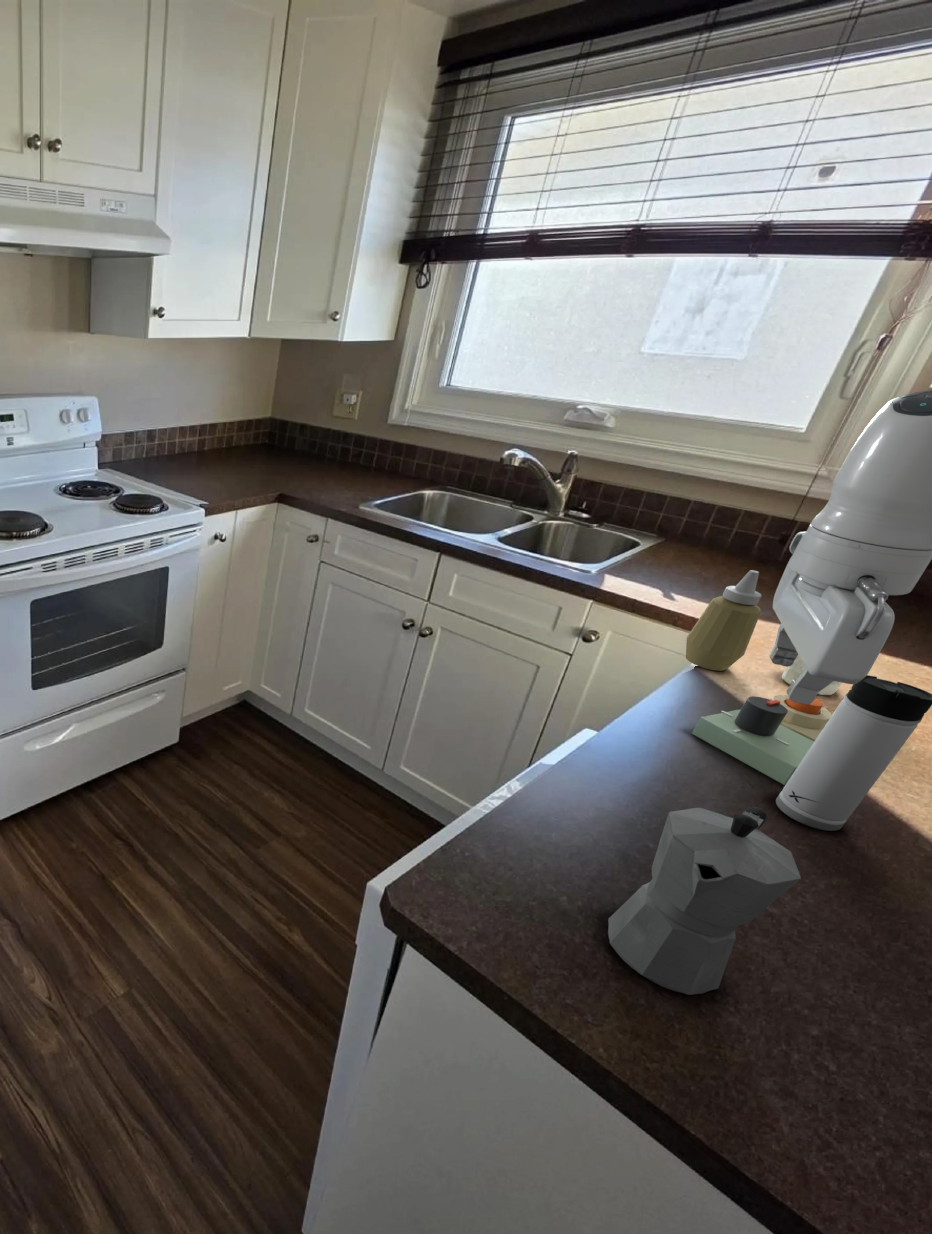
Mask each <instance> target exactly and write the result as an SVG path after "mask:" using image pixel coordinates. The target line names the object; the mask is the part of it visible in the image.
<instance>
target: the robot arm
mask: <svg viewBox="0 0 932 1234" xmlns="http://www.w3.org/2000/svg"><path fill="white" fill-rule="evenodd" d="M789 552H790V553H791V557H790V558H789V561H788V562H787V564H786V566H785V569H784V571H783V573H782V576H781V577H780V580H779V583H778V585H777V587H776V589H775V593H774V596H773V601H772V610H773V612H774V613H775V615H776V617H777V618H778V620H779V622H780V625H779V626H778V628H777V633H776V637H775V641H774V645H773V647H772V649H771V651H770V653H769V659H770V660H771V663H772V664H774V665H777V666H782V667H785V668H786V667H788V666H791V665H792V664H793V663H794V660H795V659H796V658H797V656H798V654H799V656H800V658H801V660H802V661H803V663H804V667H803V668H802V671H803V673H802V674H801V675H800V676H799V678H798V679H797V680H793V681H792V682H791V684H789V687H787V689H786V695H787V696H788V697H789V699H790V700H791V701H793V702H797V703H802V704H811V703H812V702H813V701H814V699H815V698H816V697H817V696H818V695H819V694H818V693H819V691H821V690H822V689H824V688H825V687H827V686H828V685H829V684H831V683H832V682H833V681H837V682H842V684H848V685H853V684H856V683H858V682H860V681H861V680H863V679H864V678H865V677H866V676H867V675H869V673H870V671H871V669H872V668H873V666H874V664H875V662H876V661H877V659H878V657H879V655H880V653H881V651H882V649H883V647H884V646H885V644H886V642H887V640H888V639H889V636H890V634H891V632H892V629H893V627H894V624H895V619H896V618H895V617H896V616H895V612H894V610H893V609H892V607H891V606H890V605H889V604H888V603H887V602H886V601H887V600H888V598H889V596H903V595H907V594H910V593H911V592H912V591H913V590H914V588H915V587H916V585H917V583H918V582H919V580H920V578H921V577H922V575H923V574H924V572H925V570H926V569H927V567H928V566H929V564H930V563H931V561H932V390H930V389H929V390H923V391H922V390H921V391H915V392H910V393H906V394H904V395H900V396H897V397H895V398H893V399H890V400H889V401H888V402H887V403H886V404H885V405H883V407H881V409H879V410H878V412H876V414H875V415H874V416H873V418H872V419H870V421H869V422H868V424H867V425H866V426H865V428H864V429H863V431H862V432H861V434H860V435H859V436H858V437H857V440H856V441H855V442H854V444H853V446H852V447H851V449H850V450H849V451H848V453H847V454H846V457H845V459H844V460H843V462H842V464H841V466H840V468H839V469H838V471H837V473H836V475H835V477H834V478H833V481H832V485H831V492H830V497H829V498H828V501H827V502H826V505H825V506H824V507H823V508H822V510H820V511H819V512H818V514H816V515H815V517H814V518H813V519H812V521H811V522H810V524H809V526H808V527H807V529H806V531H799V532H797V533H796V534H795V535H794V537H793V538H792V540H791V543H790V545H789Z"/></svg>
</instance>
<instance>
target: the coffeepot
mask: <svg viewBox="0 0 932 1234" xmlns="http://www.w3.org/2000/svg"><path fill="white" fill-rule="evenodd" d="M667 813H668V815H667V817H666V820H665V823H664V827H663V830H662V833H661V836H660V839H659V842H658V845H657V849H656V852H655V854H654V859H653V862H652V866H651V878H652V879H651V880H650V882H647V883H645V884H642V885H641V886H640V887H639V888H638V889H637V890H636V891H635V892H634V893H633V894H632V895H631V896H630V897H629V898H628V899H627V900H626V901H625V902H623V904H622V905H621V906H620V907H619V908H618V909H617V910H616V911H614V912H613V914H612V915H611V916H609V917H608V929H607V936H608V940H609V944H610V946H611V948H613V950H614V951H615V952H616V954H617V955H618V956H619V957H620V958H621V959H622V960H623V961H624V962H625V963H626V964H627V965H628V966H629V967H630V968H631V969H633V970H634V971H635V972H637V973H638V974H639V975H641V976H642V977H644V978H646V979H647V980H649V981H650V982H652V983H654V984H656V985H658V986H661V987H662V988H665V989H667V990H670V991H673V992H676V993H679V994H680V993H681V994H685V995H687V996H690V995H691V996H693V995H702V994H705V993H707V992H710V991H714V990H718V989H719V988H720V985H721V982H722V979H723V977H724V973H725V971H726V968H727V966H728V962H729V959H730V957H731V954H732V951H733V948H734V944H735V942H736V939H737V938H736V930H737V929H738V927H739V926H743V925H746V924H749V923H751V922H752V921H754V920H755V919H756V918H757V917H758V916H759V915H761V914H762V913H763V912H764V911H765V910H766V909H768V908H769V907H770V906H771V905H772V904H773V903H774V902H776V901H777V900H778V899H779V898H781V896H783V895H784V894H785V893H786V892H787V891H789V890H790V889H791V888H792V887H793V886H794V885H796V884H797V883H798V882H799V881H800V880H802V877H801V874H800V871H799V869H798V867H797V864H796V862H795V859H794V855H793V853H792V852H791V850H789V849H787V848H786V847H784V846H783V845H781V844H780V843H778V842H777V841H775V840H774V839H773V838H771V837H769V836H768V835H766V834H765V833H764V832H762V831H761V830H760V828H762V826H763V825H764V824H765V822H766V820H767V818H768V815H767V813H766V811H765V810H763V809H762V808H760V807H758V806H749V807H747V808H746V809H745V810H744V811H743V812H742V813H734V816H733V817H731V816H727V815H724V814H722V813H718V812H715V811H713V810H712V811H711V810H708V809H706V808H702V807H693V808H686V809H680V810H673V811H669V812H667Z"/></svg>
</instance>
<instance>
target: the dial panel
mask: <svg viewBox="0 0 932 1234" xmlns="http://www.w3.org/2000/svg"><path fill="white" fill-rule="evenodd" d="M740 710H741V708H740V709H735V710H730V711H725V710H721V711H720V713H716V714H715V713H714V714H711V715H706V716H700V718H699V720H698V721H697V723H696V725H695V727H694V729H693V731H692V733H691V735H694V736H695V737H697V738H698V739H701V740H702V741H704V742H706V743H708V744H709V745H711V746H713V747H715V748H717V749H719V750H721V751H722V752H723V753H726V754H727V755H730V756H731V757H733V758H735V759H737V760H739V761H740V762H742V763H744V764H746V765H748V766H749V767H751V768H753V769H754V770H756V771H758V772H760V773H762V774H764V775H765V776H767V777H769V778H771V779H773V780H774V781H776V782H778V783H780V784H781V785H783V786H785V785H786V784H787V782H788V781H789V779H790V778H791V776H792V775H793V773H794V772H795V770H796V769H797V767H798V766H799V764H800V763H801V761H802V760H803V758H804V757H805V755H806V754H807V752H808V751H809V749H810V748H811V746H812V745H813V743H814V741H812V740H810V739H808V738H806V737H804V736H802V735H800V734H798V733H796V732H794V731H792V730H790V729H788V728H786V727H784V726H782V725H779V727H778V728H777V730H776V732H775V733H774V735H772V736H761V735H756V734H753V733H750V732H748V731H746V730H744V729H742V728H740V727H739V726H737V725H736V724H735V719H736V717H737V715H738V714H739V712H740Z"/></svg>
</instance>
